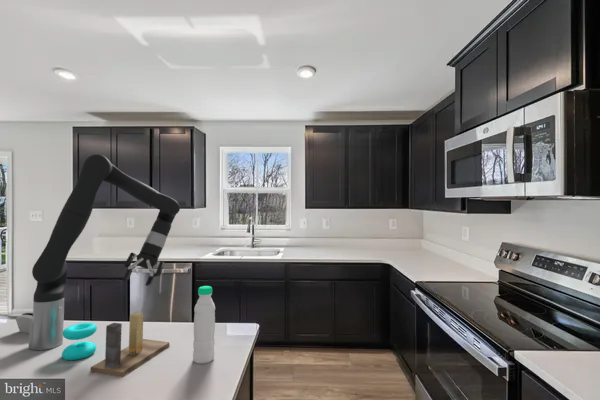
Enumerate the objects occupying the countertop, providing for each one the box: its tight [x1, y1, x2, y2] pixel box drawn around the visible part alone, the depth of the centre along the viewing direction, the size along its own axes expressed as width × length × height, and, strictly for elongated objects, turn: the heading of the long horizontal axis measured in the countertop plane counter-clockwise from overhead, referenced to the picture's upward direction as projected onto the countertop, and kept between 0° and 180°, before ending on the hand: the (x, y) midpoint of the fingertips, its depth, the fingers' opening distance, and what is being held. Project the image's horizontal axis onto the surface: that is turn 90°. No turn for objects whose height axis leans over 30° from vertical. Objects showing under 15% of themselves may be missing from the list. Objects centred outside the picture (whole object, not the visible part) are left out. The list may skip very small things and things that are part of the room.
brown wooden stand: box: [90, 322, 170, 378], centre depth 111 cm, size 23×12×14 cm, turn 166°
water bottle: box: [192, 285, 216, 365], centre depth 111 cm, size 7×7×25 cm
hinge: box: [15, 310, 33, 334], centre depth 132 cm, size 17×5×10 cm, turn 72°
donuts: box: [61, 322, 98, 361], centre depth 113 cm, size 10×10×10 cm
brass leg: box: [128, 311, 144, 354], centre depth 112 cm, size 3×3×13 cm
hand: (136, 282), depth 128 cm, fingers open, 8 cm apart
